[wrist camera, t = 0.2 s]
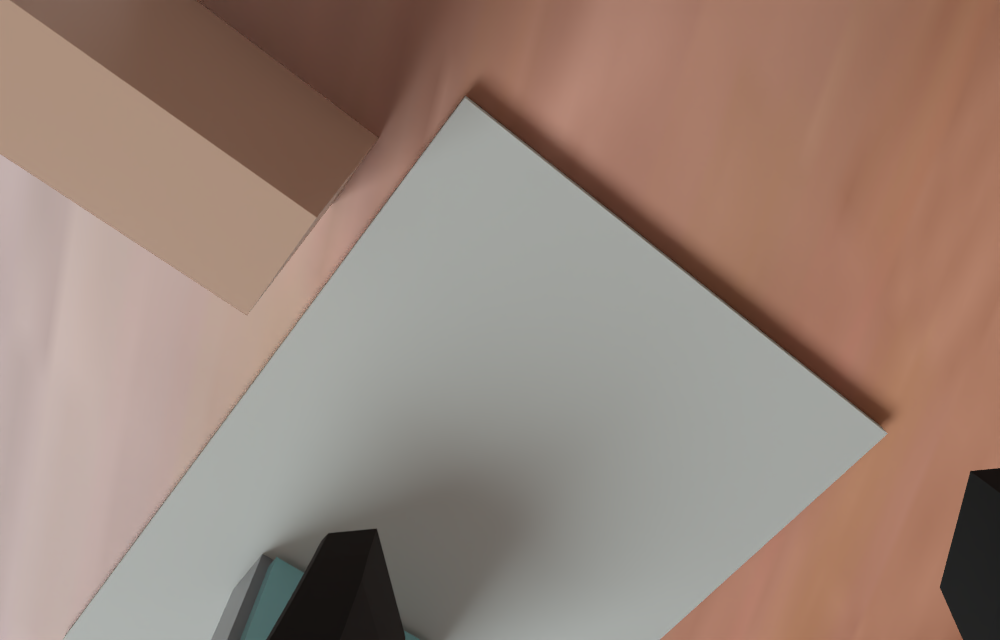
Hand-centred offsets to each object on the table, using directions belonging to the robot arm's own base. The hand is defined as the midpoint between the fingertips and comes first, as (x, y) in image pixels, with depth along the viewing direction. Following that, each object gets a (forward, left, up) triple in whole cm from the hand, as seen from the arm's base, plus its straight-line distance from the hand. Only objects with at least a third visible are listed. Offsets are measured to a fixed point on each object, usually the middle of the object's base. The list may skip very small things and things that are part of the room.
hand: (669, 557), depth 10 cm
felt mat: (-8, -2, -11) cm, 13 cm away
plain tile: (-1, +9, -11) cm, 14 cm away
